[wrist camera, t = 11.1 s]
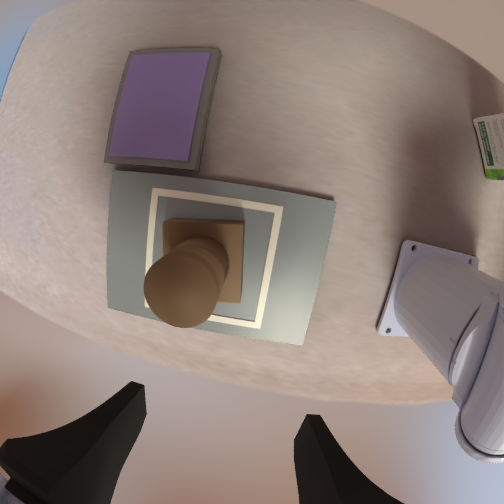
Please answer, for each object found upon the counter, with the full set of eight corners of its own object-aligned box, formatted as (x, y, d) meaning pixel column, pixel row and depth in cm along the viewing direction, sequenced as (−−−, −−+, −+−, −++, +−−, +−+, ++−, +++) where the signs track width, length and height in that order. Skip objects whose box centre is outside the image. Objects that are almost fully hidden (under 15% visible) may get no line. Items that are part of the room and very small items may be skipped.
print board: (334, 201, 18) (336, 201, 18) (301, 341, 21) (302, 345, 20) (116, 170, 18) (112, 170, 17) (110, 305, 20) (107, 308, 20)
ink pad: (221, 55, 16) (219, 47, 14) (198, 171, 18) (193, 169, 17) (136, 57, 16) (128, 50, 14) (111, 163, 18) (102, 162, 16)
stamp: (245, 220, 18) (235, 241, 11) (242, 291, 19) (233, 345, 12) (172, 218, 18) (125, 236, 11) (173, 286, 19) (135, 334, 13)
